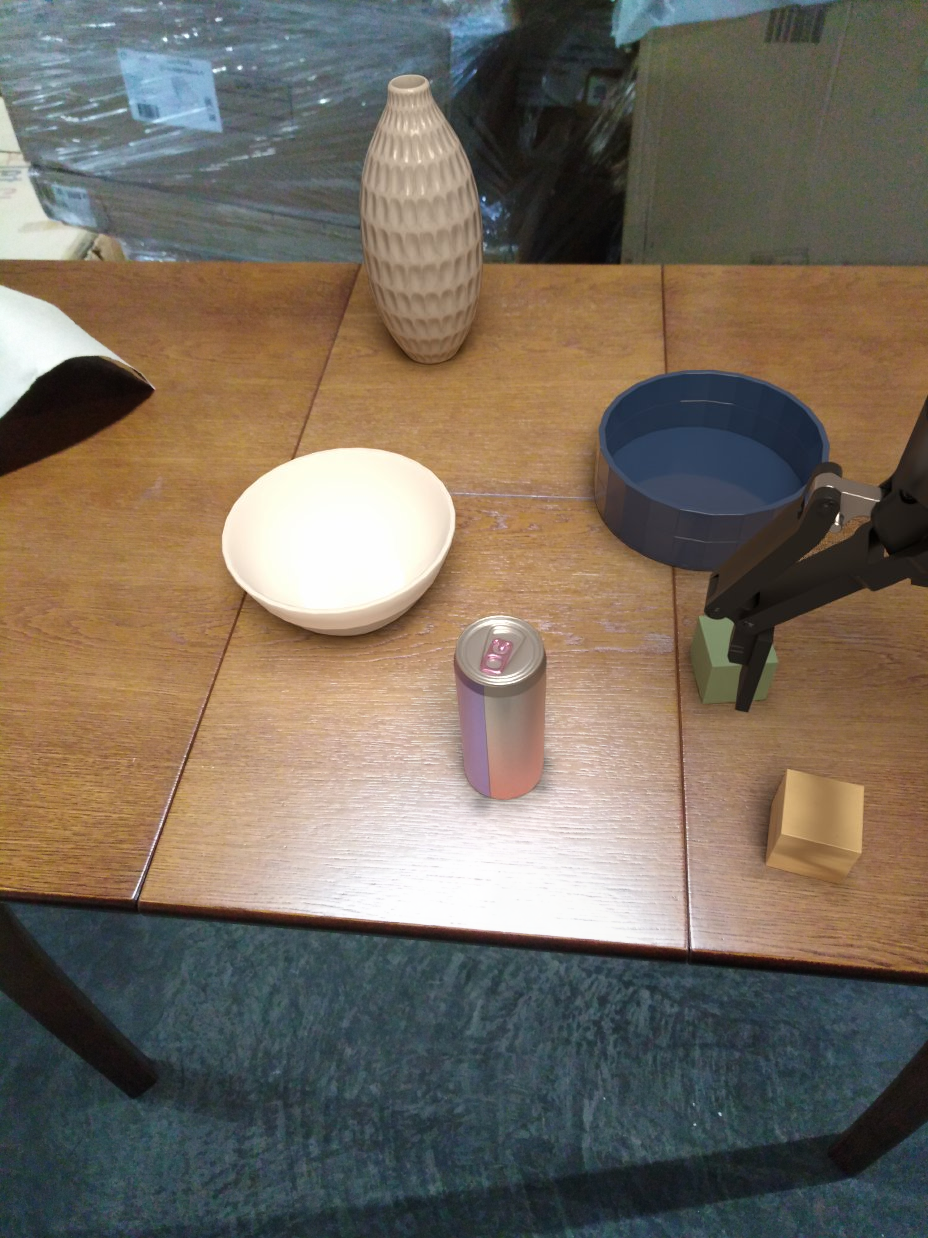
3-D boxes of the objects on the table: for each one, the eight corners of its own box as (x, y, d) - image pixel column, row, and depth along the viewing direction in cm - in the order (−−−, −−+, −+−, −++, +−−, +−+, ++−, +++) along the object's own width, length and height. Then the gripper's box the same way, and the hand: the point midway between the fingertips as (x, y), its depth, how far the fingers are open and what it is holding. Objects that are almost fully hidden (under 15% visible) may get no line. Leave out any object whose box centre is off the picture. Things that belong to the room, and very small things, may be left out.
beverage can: (452, 789, 67) (437, 671, 55) (481, 726, 70) (472, 602, 59) (528, 814, 65) (529, 698, 54) (553, 748, 69) (559, 625, 57)
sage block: (749, 650, 74) (761, 611, 70) (765, 700, 71) (779, 662, 67) (689, 654, 74) (698, 615, 70) (702, 704, 71) (712, 666, 67)
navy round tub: (816, 444, 90) (835, 385, 84) (801, 590, 78) (822, 533, 72) (616, 414, 94) (622, 357, 89) (573, 548, 82) (577, 491, 77)
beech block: (843, 820, 64) (864, 786, 60) (840, 885, 61) (861, 853, 57) (771, 803, 65) (787, 768, 61) (764, 866, 62) (780, 833, 58)
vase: (408, 395, 98) (376, 122, 76) (359, 340, 105) (317, 76, 84) (507, 358, 102) (503, 86, 80) (453, 306, 109) (436, 45, 87)
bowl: (252, 524, 86) (230, 458, 80) (452, 504, 87) (446, 436, 80) (237, 688, 74) (210, 626, 68) (471, 664, 74) (466, 599, 68)
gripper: (1399, 396, 33) (1108, 713, 49) (712, 314, 39) (656, 624, 55) (1475, 537, 29) (1128, 834, 45) (687, 421, 34) (633, 723, 51)
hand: (868, 719), depth 50 cm, fingers open, 13 cm apart
